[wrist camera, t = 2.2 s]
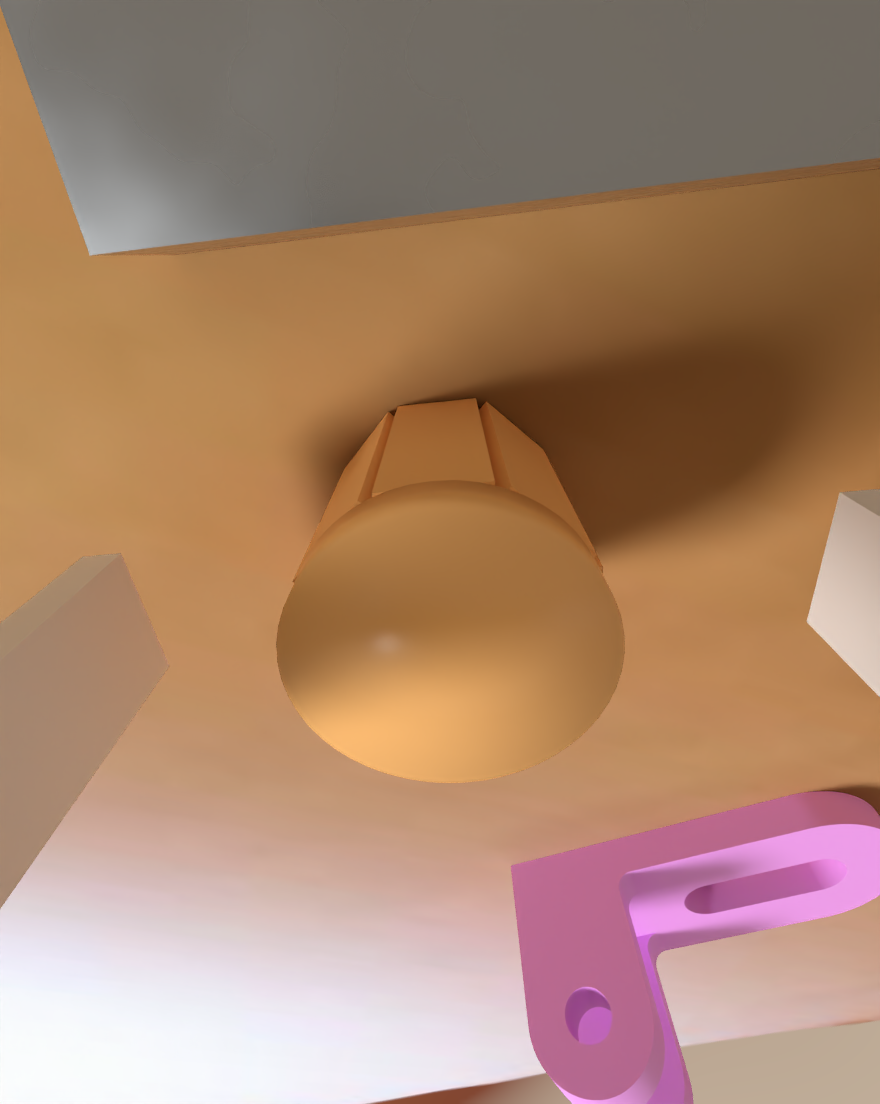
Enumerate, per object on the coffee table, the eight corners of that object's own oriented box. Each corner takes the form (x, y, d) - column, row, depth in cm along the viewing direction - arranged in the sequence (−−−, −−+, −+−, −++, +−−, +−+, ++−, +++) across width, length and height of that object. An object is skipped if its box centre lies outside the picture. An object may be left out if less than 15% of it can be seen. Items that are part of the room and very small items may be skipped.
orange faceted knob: (362, 598, 15) (317, 792, 10) (323, 409, 13) (233, 527, 7) (552, 582, 15) (616, 772, 9) (550, 385, 12) (635, 489, 7)
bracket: (555, 934, 24) (594, 1173, 17) (510, 861, 21) (537, 1109, 15) (880, 862, 21) (1060, 1112, 15) (872, 769, 19) (1084, 1024, 12)
